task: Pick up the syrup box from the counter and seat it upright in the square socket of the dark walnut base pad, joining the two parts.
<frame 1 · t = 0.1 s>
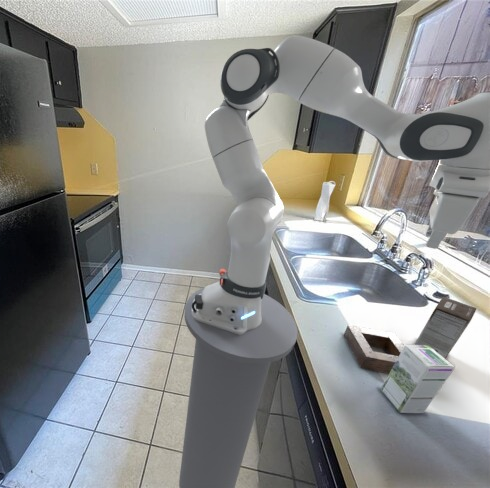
hand: (430, 241, 60), 33 cm above the worktop, tool pointing down, fingers open, 8 cm apart
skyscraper: (318, 220, 183), on the worktop
syrup box: (400, 401, 59), on the worktop
socket pad: (375, 355, 71), on the worktop
coffee box: (427, 353, 72), on the worktop
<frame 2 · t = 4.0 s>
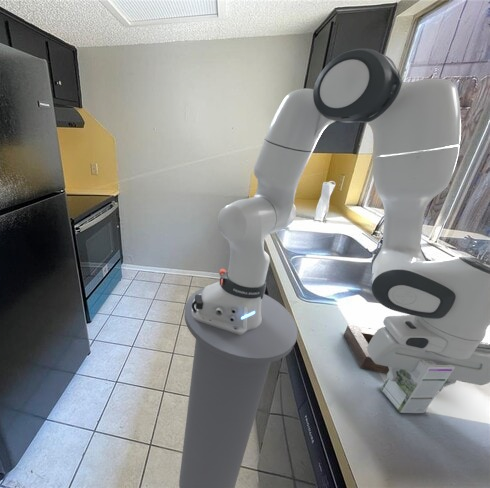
hand: (412, 383, 56), 6 cm above the worktop, tool pointing down, fingers closed on syrup box, 6 cm apart
syrup box: (400, 401, 59), on the worktop, touching gripper
everything else where it was.
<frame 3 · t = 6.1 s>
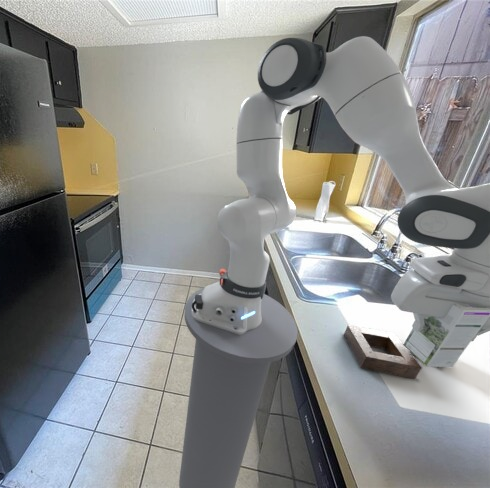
hand: (440, 334, 51), 20 cm above the worktop, tool pointing down, fingers closed on syrup box, 6 cm apart
syrup box: (425, 356, 54), point 14 cm above the worktop, touching gripper
everything else where it was.
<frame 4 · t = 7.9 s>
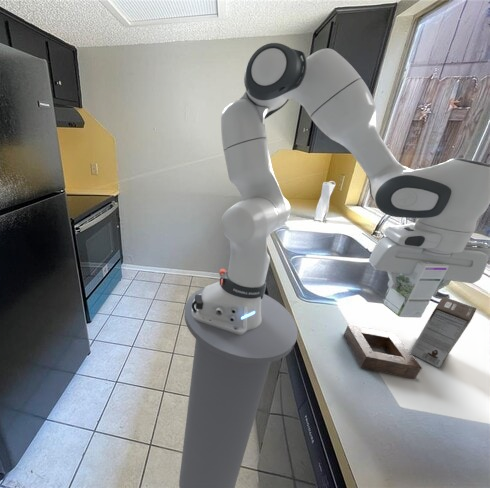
hand: (410, 290, 62), 22 cm above the worktop, tool pointing down, fingers closed on syrup box, 6 cm apart
syrup box: (399, 310, 64), point 16 cm above the worktop, touching gripper
everything else where it was.
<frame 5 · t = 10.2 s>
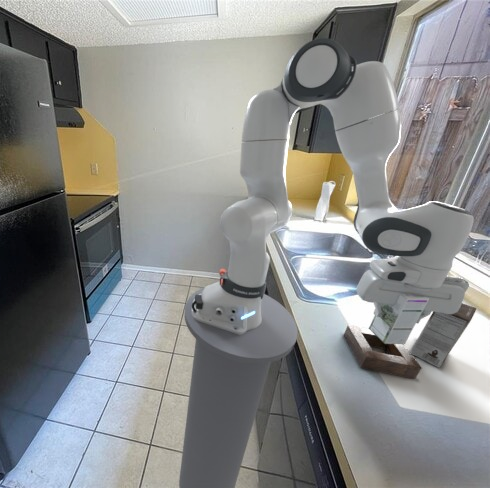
hand: (394, 318, 66), 13 cm above the worktop, tool pointing down, fingers closed on syrup box, 6 cm apart
syrup box: (385, 336, 68), point 7 cm above the worktop, touching gripper
everything else where it was.
when the fingers open (7 cm above the worktop, at t = 12.2 s): syrup box stays where it is, resting in socket pad.
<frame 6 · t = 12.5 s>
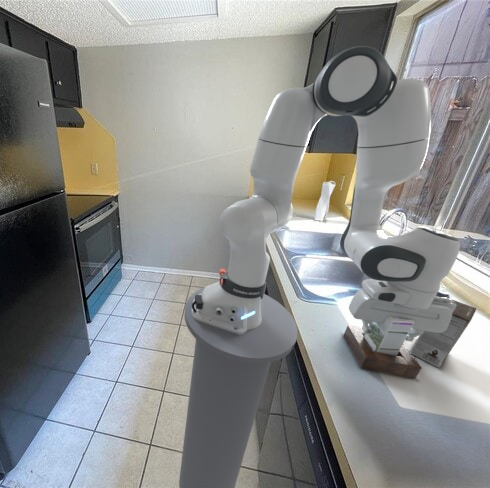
hand: (385, 335, 68), 7 cm above the worktop, tool pointing down, fingers open, 8 cm apart
syrup box: (374, 355, 71), resting in socket pad
everything else where it was.
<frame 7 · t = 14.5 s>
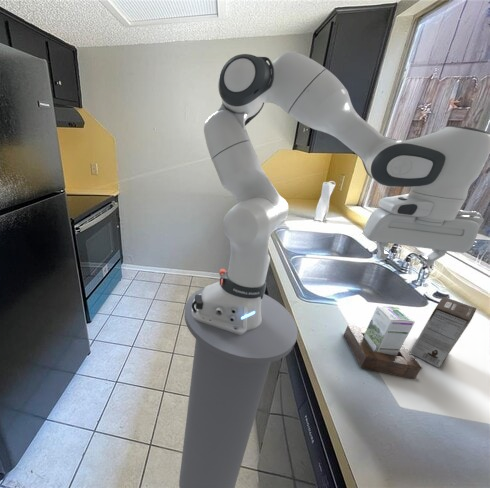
hand: (402, 261, 63), 28 cm above the worktop, tool pointing down, fingers open, 8 cm apart
nothing on the worktop moved.
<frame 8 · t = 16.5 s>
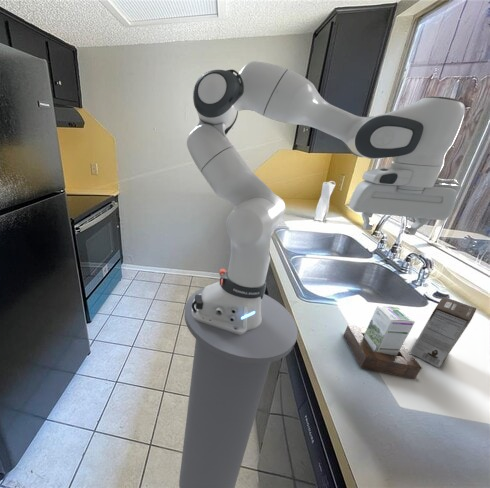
hand: (387, 231, 66), 33 cm above the worktop, tool pointing down, fingers open, 8 cm apart
nothing on the worktop moved.
at the end: syrup box 0.3 cm off-centre in the socket pad, point 0.0 cm above the socket pad's base; syrup box tilted 0° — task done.
